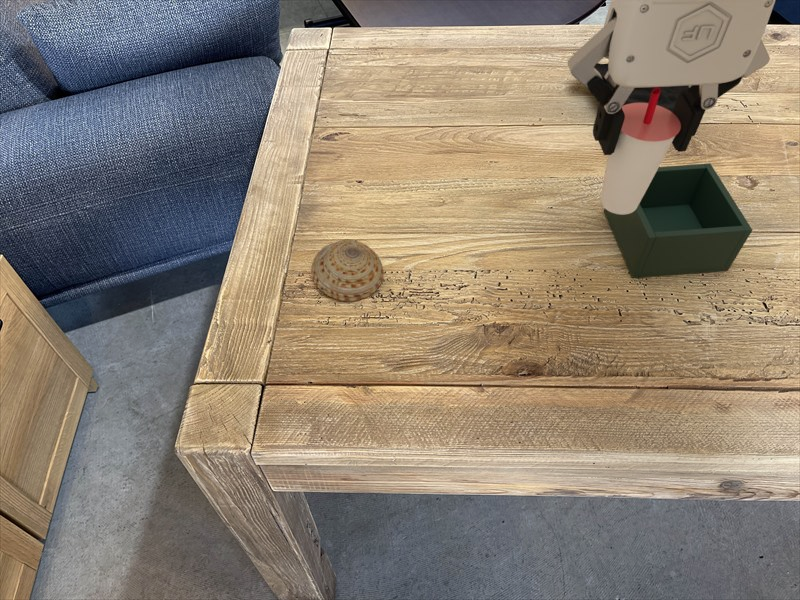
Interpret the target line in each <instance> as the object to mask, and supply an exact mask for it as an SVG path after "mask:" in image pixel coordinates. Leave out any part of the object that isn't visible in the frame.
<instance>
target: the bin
mask: <svg viewBox="0 0 800 600" xmlns="http://www.w3.org/2000/svg"><path fill="white" fill-rule="evenodd" d="M603 213H604V215H605V218H606V220H607V223H608V225H609V228H610V230H611V232H612V235H613V236H614V239H615V242H616V243H617V246H618V248H619V251H620V254H621V256H622V258H623V260H624V262H625V265H626V267H627V270H628V272H629V275H630V276H631V278H632V279H640V278H651V277H664V276H676V275H677V276H679V275H690V274H704V273H717V272H727V271H729V270H730V268H731V266H732V265H733V264H734V263H735V260H736V258H737V257H738V255H739V254H740V252H741V250H742V249H743V247H744V245H745V243H746V242H747V240H748V238H749V237H750V235H751V234H752V232H753V229H752V227H751V225H750V224H749V222H748V220H747V218H746V217H745V215H744V214H743V213H742V210H741V209H740V208H739V206H738V205H737V203H736V201H735V200H734V198H733V197H732V195H731V193H730V192H729V190H728V189H727V187H726V186H725V184H724V182H723V181H722V179H721V178H720V176H719V175H718V173H717V171H716V170H715V168H714V167H713V165H712V164H711V162H710V163H697V164H695V163H694V164H681V165H669V166H667V165H666V166H659V168H658V170H657V172H656V173H655V175H654V177H653V179H652V181H651V183H650V185H649V187H648V189H647V190H646V192H645V194H644V196H643V197H642V199H641V201H640V203H639V205H638V207H637V209H636V210H635V211H634V212H632V213H630V214H625V215H620V214H615V213H612V212H610V211H608V210H606V209H605V208H604V209H603Z"/></svg>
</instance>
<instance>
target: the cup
mask: <svg viewBox="0 0 800 600" xmlns="http://www.w3.org/2000/svg"><path fill="white" fill-rule="evenodd" d="M660 91H661V89H660V88H655V89H653V90H652V93H651V96H650V100H649V103H631V104H626V105H624V106H622V110H623V112H624V114H625V119H624V122H623V125H622V129H621V132H620V135H619V138H618V142H617V145H616V148H615V151H614V153H612V155H607V157H606V163H605V169H604V174H603V180H602V187H601V192H600V198H599V199H600V200H599V201H600V204H601V206H602V207H603V208H604V209H606V210H608V211H610V212H612V213H615V214H620V215H625V214H630V213H632V212H634V211H635V210H636V209H637V207H638V205H639V203H640V201H641V199H642V197H643V196H644V194H645V192H646V190H647V189H648V187H649V185H650V183H651V181H652V179H653V177H654V175H655V173H656V172H657V170H658V168H659V167H661V164H662V162H663V160H664V158H665V156H666V155H667V153H668V152H669V149H670V147H671V145H672V141H673V139H674V138H675V136H676V135H677V134H678V133H679V131H680V129H681V123H680V121H679V119H678V117H677V116H676V115H675V114H674V113H672V112H671V111H669V110H668V109H666V108H663V107H661V106H658V105H657V101H658V98H659V95H660Z"/></svg>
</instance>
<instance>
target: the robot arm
mask: <svg viewBox="0 0 800 600" xmlns="http://www.w3.org/2000/svg"><path fill="white" fill-rule="evenodd" d="M775 4H776V0H611V1H610V4H609V7H608V9H607V14H606V16H605V20H604V24H603V27H602V28H601V29H600V30H598V31H597V32H596V34H594V35H593V36H592V37H591V38H590V39H589V40H588V41H586V43H585V44H583V45H582V46H581V47H580V48H579V49H578V50H577V51H576V52H575V53H573V54H572V56H570V57H569V58H568V60H567V62H566V63H567V67H568V70H569V72H570V74H571V75H572V76H573V77H574V78H575V79H576V80H577V82H579V83H580V84H581V85H583V87H585V88H586V89H587V90H588V91H589V93H590V94H591V95H592V96H593V97H594V98H595V100H596V101H598V103H599V104H598V108H597V112H596V116H595V119H594V123H593V126H592V136H593V139H594V140H595V141H596V142H598V143H599V146H600V148H601V151H602V153H603V155H604V156H608V155H612V153H614V151H615V148H616V145H617V142H618V138H619V135H620V132H621V129H622V125H623V122H624V119H625V114H624V112H623V110H622V106H623V104H624V103H625V101H626V100H627V98H628V97H629V95H630V94H631V92H632V91H633V89H634V88H642V87H667V86H688V85H689V88H688V89H682V91H681V93H680V94H679V95H678V98H677V101H676V103H675V106H674V109H673V111H672V113H674V114H675V115H676V116H677V117H678V119H679V121H680V123H681V129H680V131H679V133H678V134H677V135H676V136H675V138H674V139H673V141H672V143H671V145H672V146H673V148H674V150H675V151H676V152H678V153H680V152H686V151H687V149H688V147H689V144H690V142H691V139H692V137H695V135H696V134H697V131H698V129H699V127H700V125H701V122H702V119H703V118H704V115H705V113H706V110H710V109H713V108H714V107H715V106H716V105H717V103H718V100H719V98H721V97H722V96H724V95H725V94H726V93H727V92H729V91H730V90H732V89H733V88H735V87H736V86H737V87H738V85H739V84H740V83H741V82H742V79H746V78H747V77H749V76H751V75H752V74H754V73H756V72H757V71H759V70H761V69H763V68H764V67H765V66H767V65H768V64H769V62H770V60H771V57H770V55H769V53H768V51H767V49H766V46H765V44H764V42H763V39H762V38H763V36H764V34H765V31H766V29H767V25H768V23H769V21H770V17H771V14H772V12H773V9H774V6H775ZM604 58H605V59H607V60H608V69H609V70H608V71H607V73H606V75H605V76H603V75H602V74H601V73H600V72H599V70H597V69H595V68H594V66H595V65H596V64H597V63H599V62H601V61H602V60H603V59H604Z"/></svg>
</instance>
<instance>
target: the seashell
mask: <svg viewBox="0 0 800 600" xmlns="http://www.w3.org/2000/svg"><path fill="white" fill-rule="evenodd" d="M310 271H311V277H312V280H313V283H314V284H315V286H316V287H317V288H318V289H319V290H320V291H321V292H322V293H323V294H325V295H326V296H328V297H330V298H331V299H333V300H334V299H335V300H337V301H342V302H357V301H361V300H364V299H366V298H368V297H370V296H372V295H373V294H374V293H376V291H377V290H378V289H379V288H380V286H381V284H382V282H383V279H384V267H383V263H382V260H381V259H380V257H379V255H378V253H377V252H376V251H374V250H373V249H372V248H371V247H370V246H368V245H367V244H365V243H363V242H361V241H358V240H355V239H350V238H347V239H342V240H337V241H335V242H333V243H329V244H327V245H325V246H323V247H322V248H321V249H320V250H319V251H318V252H317V253H316V255H315V256H314V258H313V260H312V263H311V268H310Z"/></svg>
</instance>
